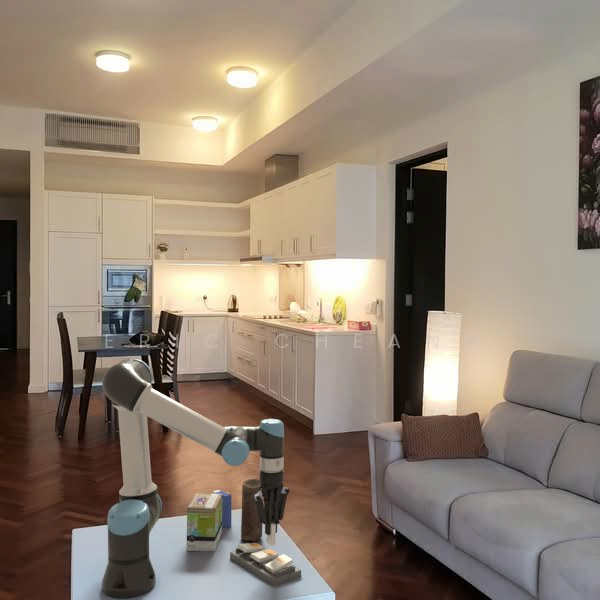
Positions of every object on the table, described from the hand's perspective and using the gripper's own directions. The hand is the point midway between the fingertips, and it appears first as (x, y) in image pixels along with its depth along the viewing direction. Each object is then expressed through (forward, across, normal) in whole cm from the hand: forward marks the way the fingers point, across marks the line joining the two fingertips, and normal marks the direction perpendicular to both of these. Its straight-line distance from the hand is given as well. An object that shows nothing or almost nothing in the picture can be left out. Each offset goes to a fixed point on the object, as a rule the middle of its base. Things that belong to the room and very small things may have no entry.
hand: (270, 543), depth 199 cm
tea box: (+7, -8, +28) cm, 30 cm away
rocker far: (+3, -3, +7) cm, 8 cm away
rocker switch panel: (+7, -2, 0) cm, 7 cm away
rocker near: (+3, -3, -8) cm, 9 cm away
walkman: (+7, +6, +38) cm, 39 cm away
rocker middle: (+3, -3, 0) cm, 4 cm away
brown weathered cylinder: (+7, +6, +20) cm, 22 cm away
